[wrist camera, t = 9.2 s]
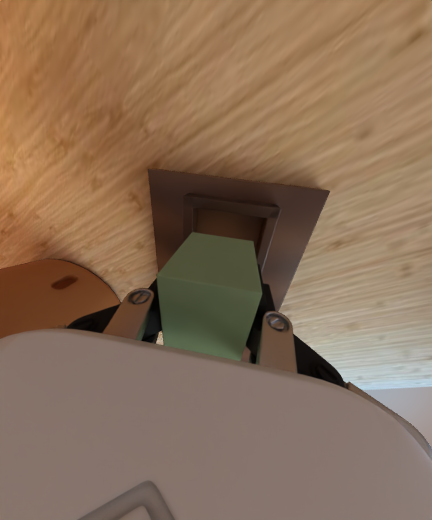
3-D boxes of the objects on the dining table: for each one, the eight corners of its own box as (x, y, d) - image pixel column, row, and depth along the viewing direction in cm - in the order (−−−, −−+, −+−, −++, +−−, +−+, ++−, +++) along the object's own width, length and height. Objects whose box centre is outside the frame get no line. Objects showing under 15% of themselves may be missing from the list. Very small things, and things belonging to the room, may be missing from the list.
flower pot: (128, 356, 31) (48, 486, 18) (19, 307, 28) (-168, 420, 15) (164, 288, 21) (38, 479, 8) (-3, 200, 18) (-628, 274, 5)
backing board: (156, 168, 14) (97, 166, 8) (321, 189, 13) (384, 202, 7) (169, 337, 26) (148, 383, 20) (254, 354, 25) (258, 408, 19)
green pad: (191, 231, 10) (155, 275, 6) (253, 240, 10) (263, 293, 6) (190, 299, 13) (164, 361, 9) (237, 308, 13) (235, 376, 9)
